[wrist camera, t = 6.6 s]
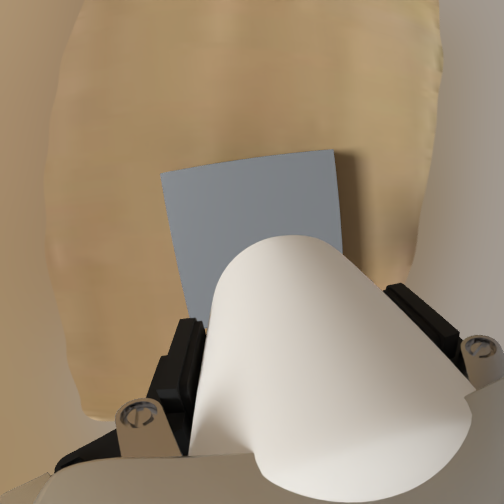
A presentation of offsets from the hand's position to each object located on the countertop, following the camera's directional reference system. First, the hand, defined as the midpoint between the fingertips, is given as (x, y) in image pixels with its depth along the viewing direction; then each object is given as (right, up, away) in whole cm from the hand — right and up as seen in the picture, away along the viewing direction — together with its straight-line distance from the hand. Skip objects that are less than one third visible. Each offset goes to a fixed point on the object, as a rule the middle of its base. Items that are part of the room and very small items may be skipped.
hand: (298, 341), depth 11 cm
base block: (-1, +5, +19) cm, 20 cm away
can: (0, +1, +3) cm, 3 cm away
